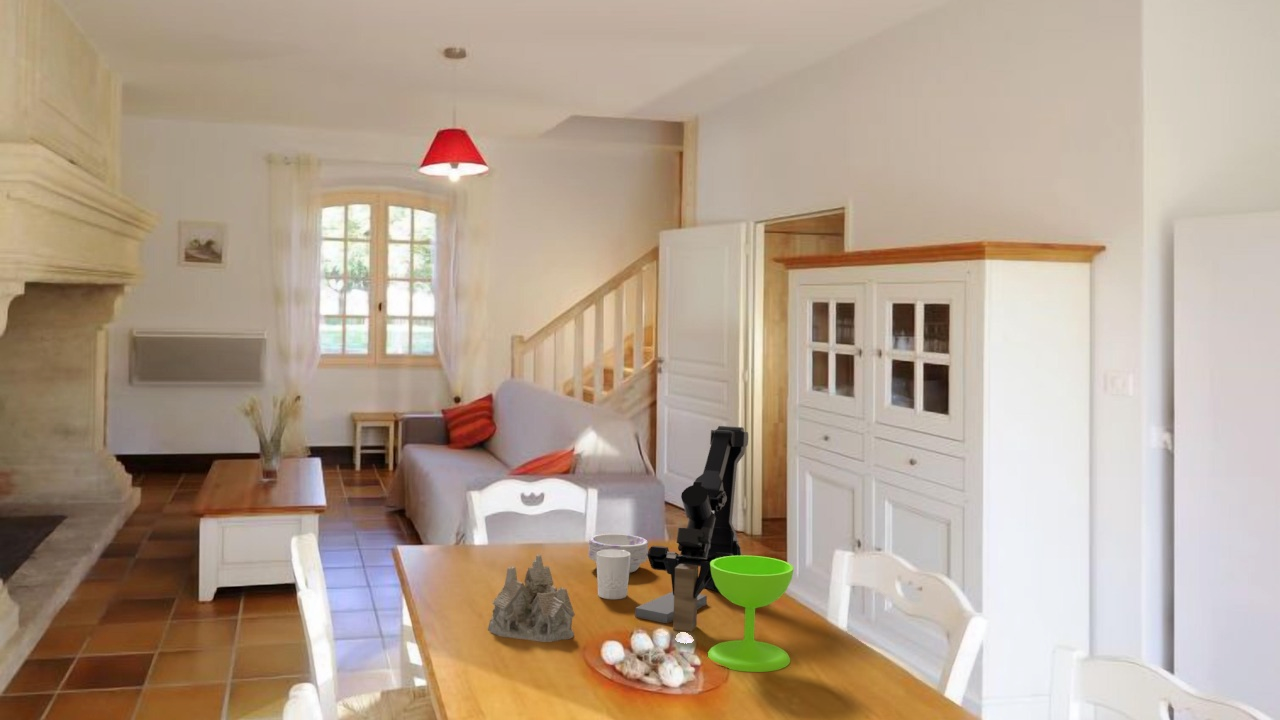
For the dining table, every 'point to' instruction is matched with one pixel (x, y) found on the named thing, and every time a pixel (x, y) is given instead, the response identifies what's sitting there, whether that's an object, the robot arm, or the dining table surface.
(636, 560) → the paper bowls
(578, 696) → the dining table surface
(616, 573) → the white cup
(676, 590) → the walnut block
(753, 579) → the wineglass
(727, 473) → the robot arm
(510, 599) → the ceramic cottage
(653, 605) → the slate board
